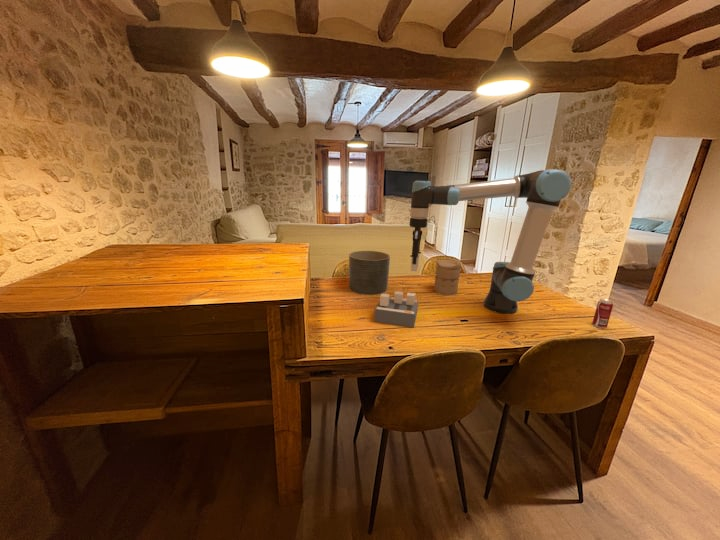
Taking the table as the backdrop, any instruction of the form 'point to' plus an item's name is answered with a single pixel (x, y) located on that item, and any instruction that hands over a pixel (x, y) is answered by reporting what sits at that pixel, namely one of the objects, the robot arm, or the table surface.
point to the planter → (368, 272)
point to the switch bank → (396, 313)
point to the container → (447, 277)
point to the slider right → (410, 299)
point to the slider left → (384, 300)
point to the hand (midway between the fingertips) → (414, 269)
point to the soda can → (602, 313)
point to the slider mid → (398, 297)
